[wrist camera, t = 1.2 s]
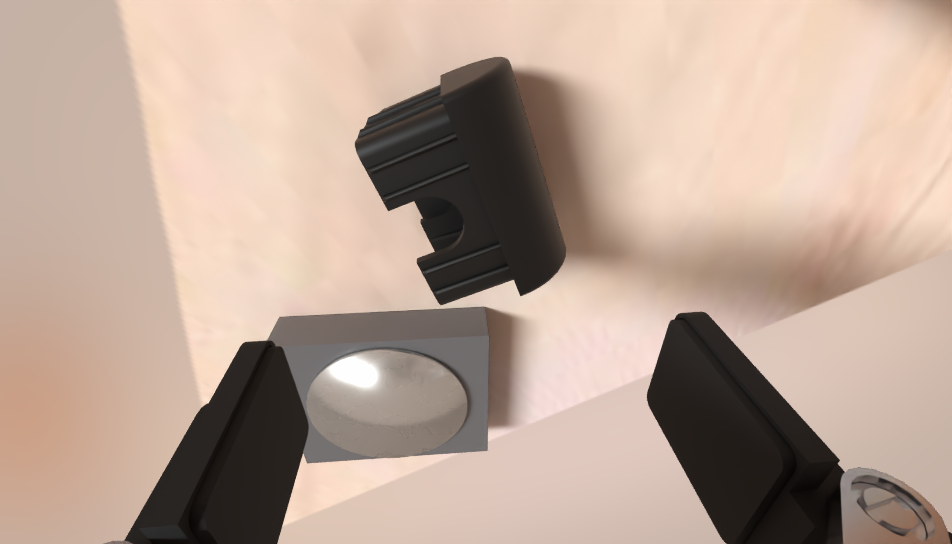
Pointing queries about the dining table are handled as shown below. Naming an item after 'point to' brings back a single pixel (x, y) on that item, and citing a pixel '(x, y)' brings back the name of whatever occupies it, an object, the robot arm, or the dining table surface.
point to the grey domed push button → (390, 382)
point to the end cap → (468, 181)
